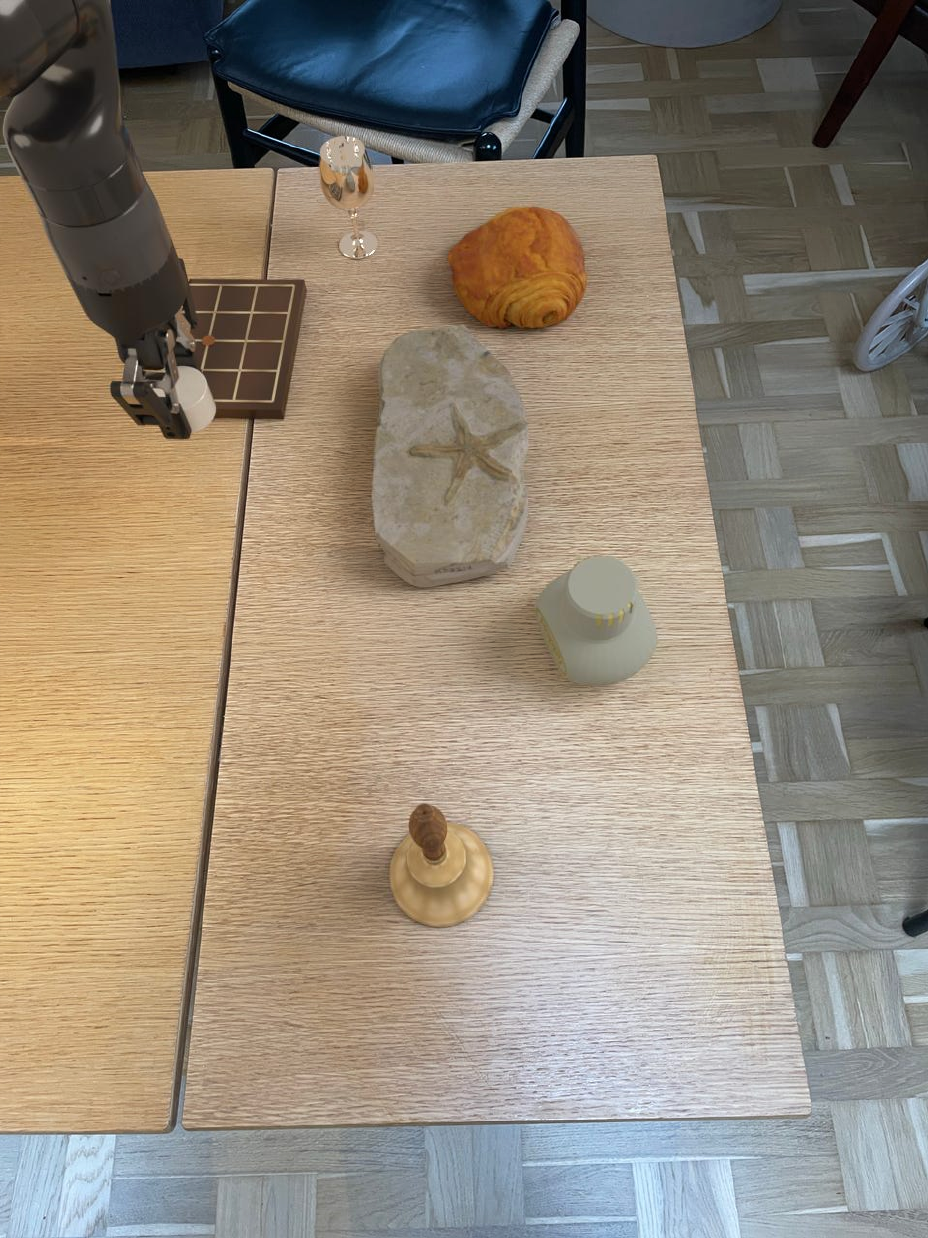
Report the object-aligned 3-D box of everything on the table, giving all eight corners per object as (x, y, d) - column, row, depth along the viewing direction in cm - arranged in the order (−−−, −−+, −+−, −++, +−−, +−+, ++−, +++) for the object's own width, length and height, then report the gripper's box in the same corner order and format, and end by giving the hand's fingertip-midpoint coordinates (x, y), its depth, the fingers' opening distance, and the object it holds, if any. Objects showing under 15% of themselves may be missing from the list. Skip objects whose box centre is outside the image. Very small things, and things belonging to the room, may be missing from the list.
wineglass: (366, 269, 109) (350, 176, 98) (323, 252, 110) (303, 158, 100) (393, 236, 111) (381, 142, 101) (351, 220, 113) (334, 125, 102)
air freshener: (525, 606, 88) (526, 547, 80) (608, 575, 90) (619, 514, 81) (574, 710, 84) (582, 660, 75) (662, 676, 85) (680, 624, 76)
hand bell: (367, 878, 78) (335, 822, 64) (438, 801, 80) (422, 731, 66) (444, 950, 75) (429, 908, 61) (515, 868, 78) (516, 810, 64)
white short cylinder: (153, 434, 81) (141, 410, 78) (165, 388, 83) (154, 364, 80) (210, 436, 81) (200, 412, 78) (221, 390, 83) (211, 366, 80)
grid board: (111, 416, 101) (105, 406, 99) (147, 288, 109) (142, 277, 108) (284, 419, 100) (280, 409, 98) (306, 289, 108) (304, 278, 106)
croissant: (567, 245, 112) (571, 178, 106) (595, 331, 103) (602, 264, 97) (442, 258, 112) (438, 192, 105) (459, 346, 102) (456, 279, 96)
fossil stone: (384, 357, 103) (377, 320, 98) (524, 353, 102) (524, 315, 98) (372, 589, 90) (364, 559, 85) (532, 586, 89) (533, 556, 85)
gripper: (87, 172, 70) (160, 343, 85) (31, 323, 63) (121, 478, 78) (190, 175, 69) (245, 346, 85) (144, 327, 63) (213, 482, 78)
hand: (185, 409), depth 81 cm, fingers closed on white short cylinder, 4 cm apart
